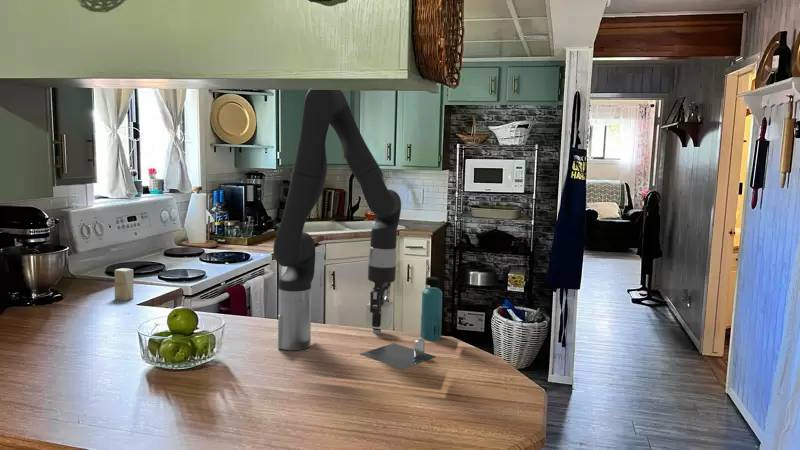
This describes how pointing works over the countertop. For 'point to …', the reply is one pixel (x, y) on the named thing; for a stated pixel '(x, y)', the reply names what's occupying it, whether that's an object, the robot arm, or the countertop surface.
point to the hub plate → (400, 354)
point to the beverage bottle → (431, 311)
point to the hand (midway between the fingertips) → (379, 322)
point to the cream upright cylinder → (123, 284)
